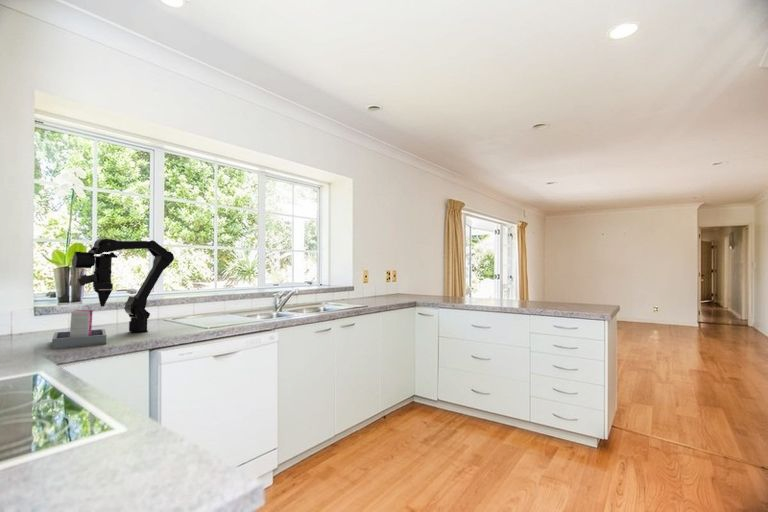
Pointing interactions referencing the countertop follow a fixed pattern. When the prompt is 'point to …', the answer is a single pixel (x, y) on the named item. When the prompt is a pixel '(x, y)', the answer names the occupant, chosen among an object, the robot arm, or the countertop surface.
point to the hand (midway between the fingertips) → (101, 305)
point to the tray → (78, 339)
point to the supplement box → (81, 323)
